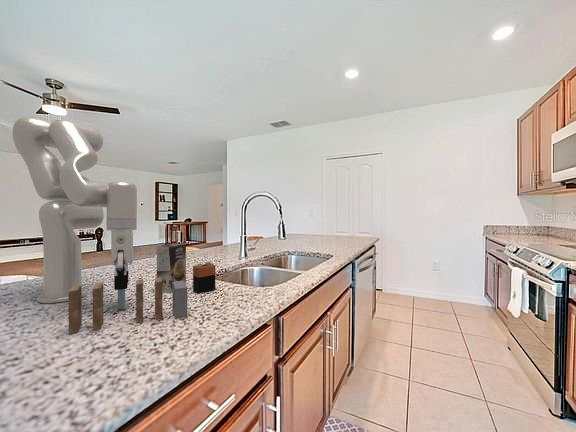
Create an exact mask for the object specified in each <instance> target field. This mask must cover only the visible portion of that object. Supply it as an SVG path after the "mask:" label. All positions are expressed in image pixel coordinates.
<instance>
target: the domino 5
mask: <svg viewBox="0 0 576 432" xmlns="http://www.w3.org/2000/svg"><path fill="white" fill-rule="evenodd" d="M163 295H164V294H163V292H162V278H161V277H159V278H157V277H155V278H154V317H155V321H158V320H163V319H164V317H163V316H164V315H163V311H164V310H163V308H164V307H163V297H164V296H163Z"/></svg>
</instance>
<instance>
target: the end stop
mask: <svg viewBox="0 0 576 432" xmlns="http://www.w3.org/2000/svg"><path fill="white" fill-rule="evenodd" d="M171 293H172V295H171V297H172V299H171V301H172V305H171V306H172V312H173V315H174V319H175V320H177V319H182V318H187V317H188V286H187V283H186V284H185V282H184V281H175V282H172V292H171Z"/></svg>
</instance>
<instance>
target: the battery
mask: <svg viewBox="0 0 576 432" xmlns="http://www.w3.org/2000/svg"><path fill="white" fill-rule="evenodd" d="M215 290H216V265H215V264H212V261H206V262H204V264H202V263H197V265H193V266H192V291H193V292H194V293H197V294H204V293H208V292H212V291H215Z"/></svg>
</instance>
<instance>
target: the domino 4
mask: <svg viewBox="0 0 576 432" xmlns="http://www.w3.org/2000/svg"><path fill="white" fill-rule="evenodd" d="M135 282H136V283H135V324H140V323H144V279H143V278H139V279H136V280H135Z"/></svg>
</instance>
